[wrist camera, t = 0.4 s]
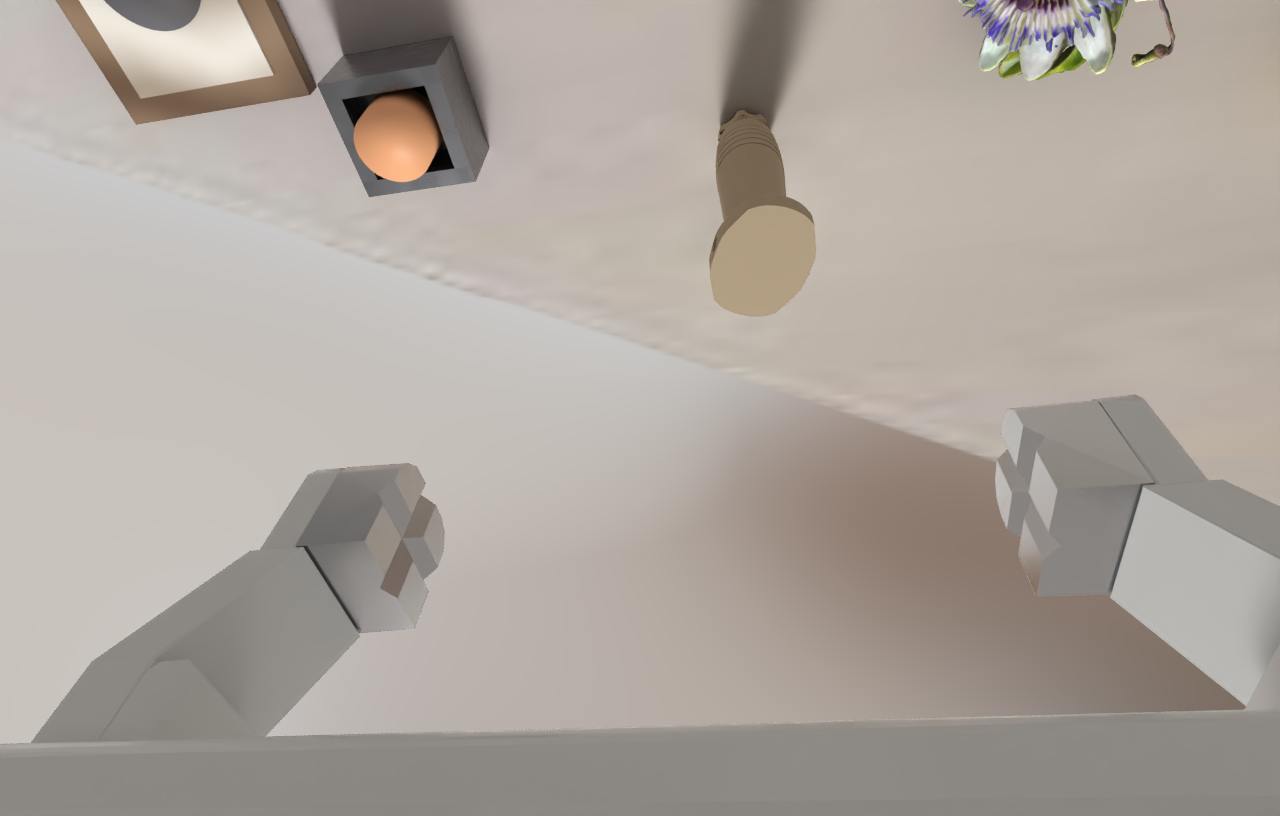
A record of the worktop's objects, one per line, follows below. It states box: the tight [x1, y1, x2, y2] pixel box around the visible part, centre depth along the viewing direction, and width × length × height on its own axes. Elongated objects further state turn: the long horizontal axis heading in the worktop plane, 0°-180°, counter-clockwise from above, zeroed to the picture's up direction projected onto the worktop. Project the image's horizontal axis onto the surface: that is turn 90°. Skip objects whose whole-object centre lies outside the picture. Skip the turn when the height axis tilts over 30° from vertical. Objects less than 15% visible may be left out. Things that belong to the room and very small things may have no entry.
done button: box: [354, 88, 443, 182], centre depth 44 cm, size 4×4×3 cm
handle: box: [710, 110, 816, 316], centre depth 42 cm, size 5×6×15 cm
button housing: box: [317, 36, 489, 197], centre depth 46 cm, size 7×7×4 cm
